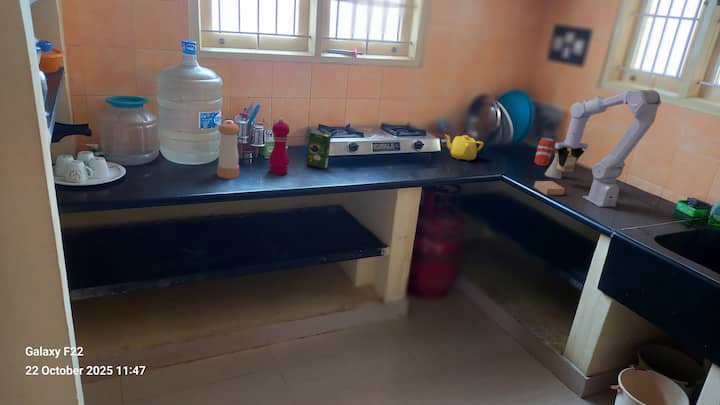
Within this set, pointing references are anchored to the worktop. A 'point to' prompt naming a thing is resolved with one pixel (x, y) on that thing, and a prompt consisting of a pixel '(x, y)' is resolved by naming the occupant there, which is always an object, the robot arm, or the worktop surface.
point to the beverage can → (544, 151)
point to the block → (568, 164)
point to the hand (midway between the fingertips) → (566, 165)
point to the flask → (554, 169)
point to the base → (549, 188)
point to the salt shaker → (228, 151)
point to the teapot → (463, 147)
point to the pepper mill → (279, 148)
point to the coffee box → (318, 149)
